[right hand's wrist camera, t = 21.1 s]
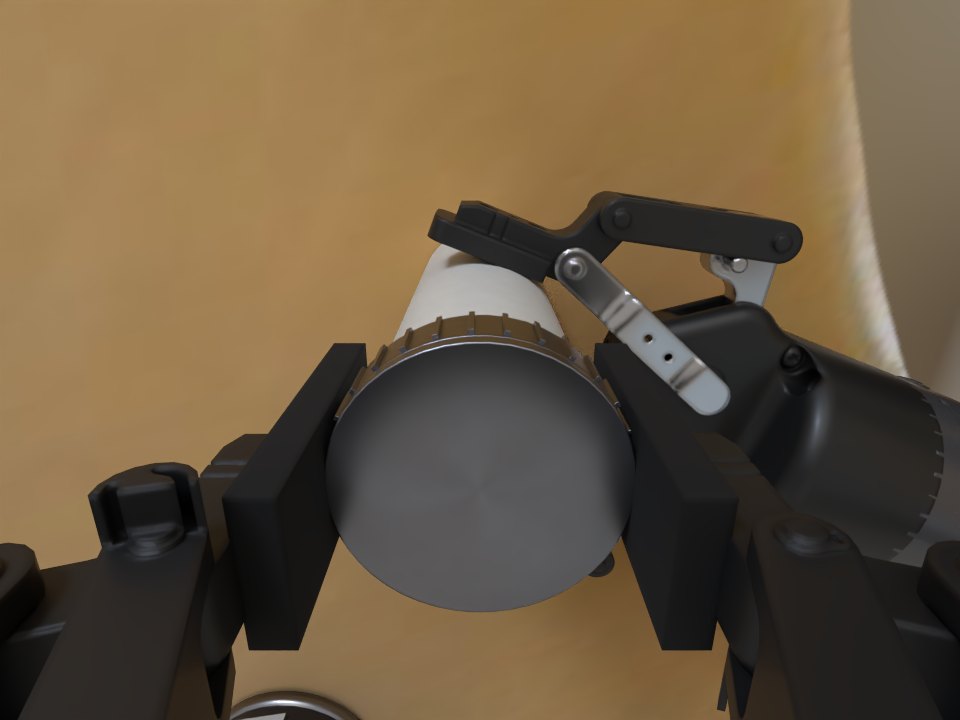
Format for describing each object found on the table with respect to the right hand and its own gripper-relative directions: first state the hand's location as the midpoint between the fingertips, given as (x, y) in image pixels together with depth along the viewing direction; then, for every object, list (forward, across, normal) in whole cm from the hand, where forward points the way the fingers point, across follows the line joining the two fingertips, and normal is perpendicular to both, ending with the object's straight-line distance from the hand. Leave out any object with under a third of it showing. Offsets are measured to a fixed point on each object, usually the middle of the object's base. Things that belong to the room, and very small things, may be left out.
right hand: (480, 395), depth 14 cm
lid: (-4, 0, 0) cm, 4 cm away
